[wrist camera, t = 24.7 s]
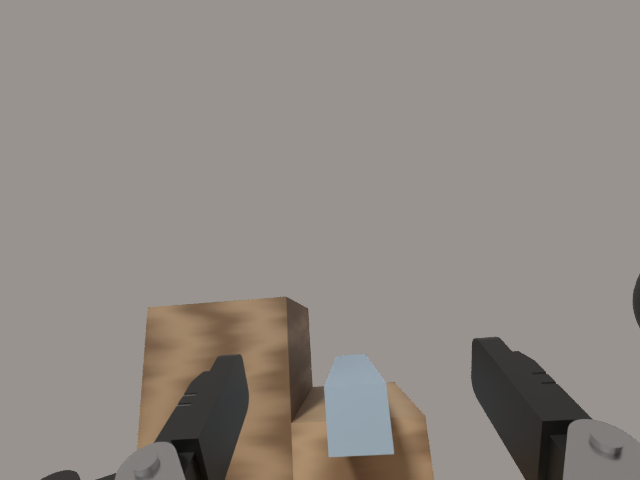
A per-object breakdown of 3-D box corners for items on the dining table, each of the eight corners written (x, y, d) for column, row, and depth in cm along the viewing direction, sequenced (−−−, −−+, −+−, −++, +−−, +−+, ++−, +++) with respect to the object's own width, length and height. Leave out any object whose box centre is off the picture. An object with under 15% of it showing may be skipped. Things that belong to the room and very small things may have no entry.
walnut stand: (422, 618, 33) (384, 302, 42) (488, 868, 18) (407, 287, 26) (213, 622, 34) (218, 315, 43) (106, 859, 19) (147, 307, 28)
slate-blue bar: (368, 385, 38) (365, 354, 39) (394, 454, 17) (386, 383, 18) (338, 387, 39) (336, 356, 39) (328, 457, 17) (323, 386, 18)
